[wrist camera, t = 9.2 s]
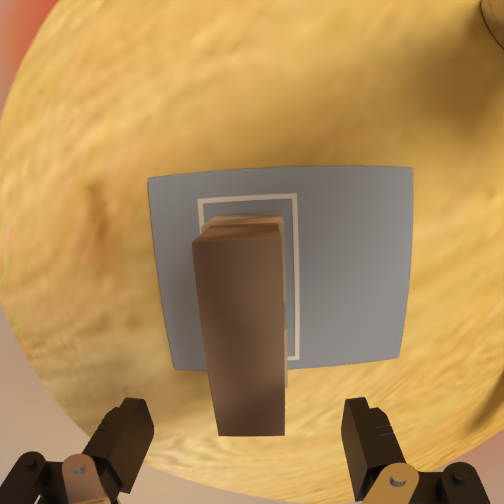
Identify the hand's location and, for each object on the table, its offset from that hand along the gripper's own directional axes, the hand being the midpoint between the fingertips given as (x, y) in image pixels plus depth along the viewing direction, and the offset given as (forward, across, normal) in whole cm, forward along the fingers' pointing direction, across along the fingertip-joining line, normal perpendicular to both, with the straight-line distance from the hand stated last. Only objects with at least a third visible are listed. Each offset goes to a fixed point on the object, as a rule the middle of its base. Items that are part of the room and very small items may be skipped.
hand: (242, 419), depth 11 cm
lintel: (+9, 0, 0) cm, 9 cm away
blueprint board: (+16, -2, -1) cm, 16 cm away
